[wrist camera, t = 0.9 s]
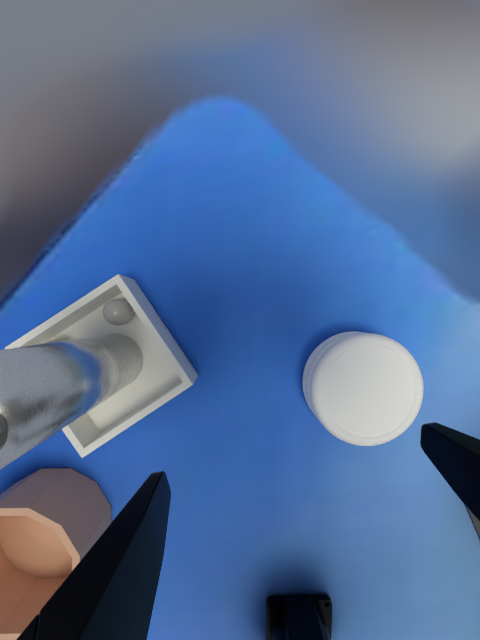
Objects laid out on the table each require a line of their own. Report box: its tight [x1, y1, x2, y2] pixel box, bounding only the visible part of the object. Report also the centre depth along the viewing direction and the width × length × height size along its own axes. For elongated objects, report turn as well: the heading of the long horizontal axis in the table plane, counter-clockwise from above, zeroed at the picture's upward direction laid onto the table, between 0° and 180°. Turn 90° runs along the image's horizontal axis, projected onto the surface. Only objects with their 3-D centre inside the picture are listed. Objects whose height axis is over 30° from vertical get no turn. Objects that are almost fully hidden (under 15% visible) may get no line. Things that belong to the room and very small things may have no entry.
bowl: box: [0, 468, 111, 640], centre depth 20 cm, size 11×11×4 cm
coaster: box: [302, 331, 423, 446], centre depth 21 cm, size 10×10×4 cm
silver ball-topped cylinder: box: [0, 333, 143, 469], centre depth 14 cm, size 5×5×14 cm
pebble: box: [103, 299, 133, 326], centre depth 20 cm, size 2×2×2 cm
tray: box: [5, 274, 198, 458], centre depth 20 cm, size 11×11×3 cm
